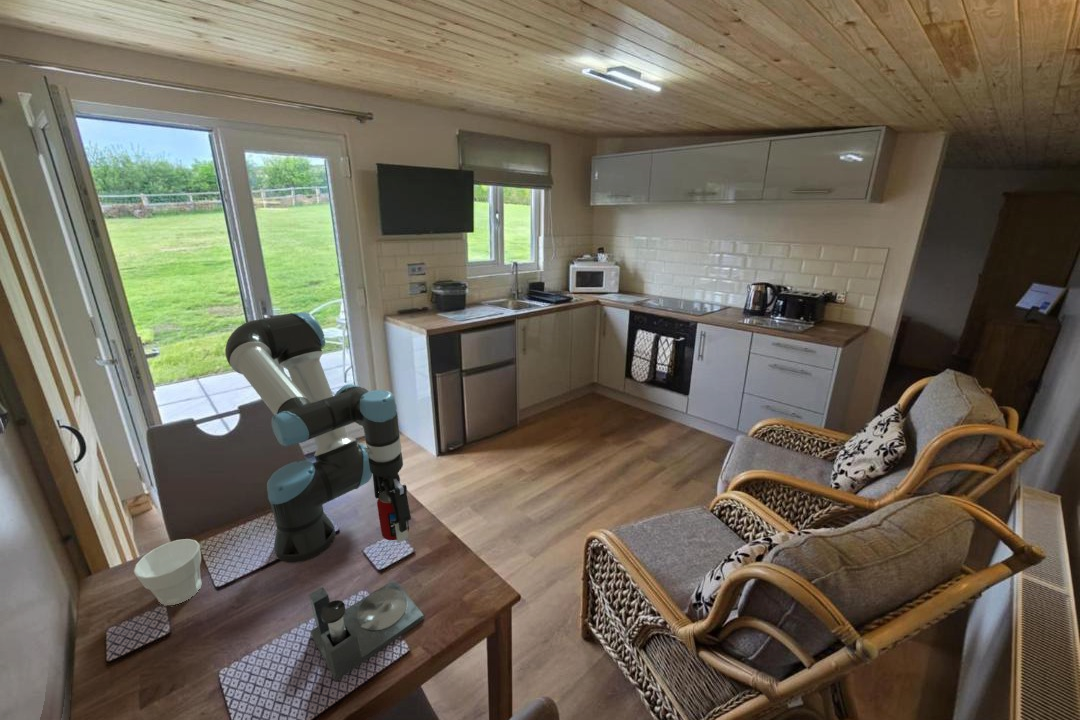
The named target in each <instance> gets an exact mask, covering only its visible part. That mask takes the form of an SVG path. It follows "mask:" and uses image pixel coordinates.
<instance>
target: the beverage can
mask: <svg viewBox="0 0 1080 720" xmlns="http://www.w3.org/2000/svg"><path fill="white" fill-rule="evenodd" d="M394 490H395V489H394ZM392 491H393V490H392ZM390 492H391V491H390ZM376 507H377V512H378V519H379V525H380V530H381V536H382V538H384V539H385V540H387V541H397V537H396V529H395V524H394V522H393V521H394V520H396V518H395V514H394V511H393V507H392V504H391V500H390V497H389V496H387V494H386V491H382V492H381V493H380V495H379V498H377V501H376ZM409 521H410V520H409ZM409 521H407V529H408V532H409V530H410V522H409Z"/></svg>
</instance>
